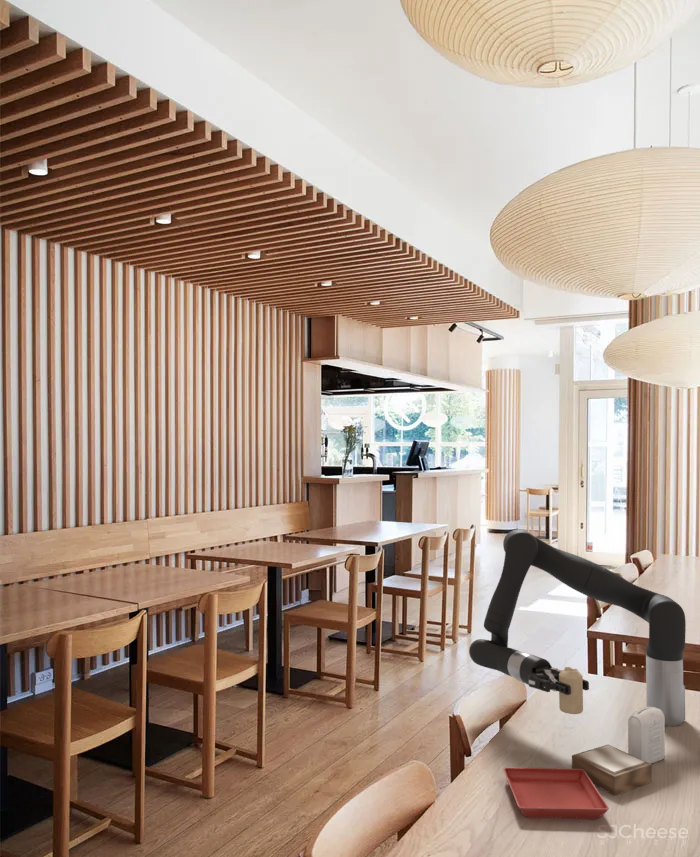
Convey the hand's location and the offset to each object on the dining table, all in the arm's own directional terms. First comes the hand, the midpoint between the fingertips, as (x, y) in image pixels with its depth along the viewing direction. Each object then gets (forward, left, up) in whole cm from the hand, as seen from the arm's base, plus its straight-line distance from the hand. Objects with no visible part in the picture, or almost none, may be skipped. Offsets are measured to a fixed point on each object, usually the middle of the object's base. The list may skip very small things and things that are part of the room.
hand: (578, 688), depth 172 cm
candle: (0, -3, -6) cm, 7 cm away
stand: (+2, +11, -16) cm, 20 cm away
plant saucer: (+21, +12, -17) cm, 30 cm away
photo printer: (-12, +9, -17) cm, 23 cm away
